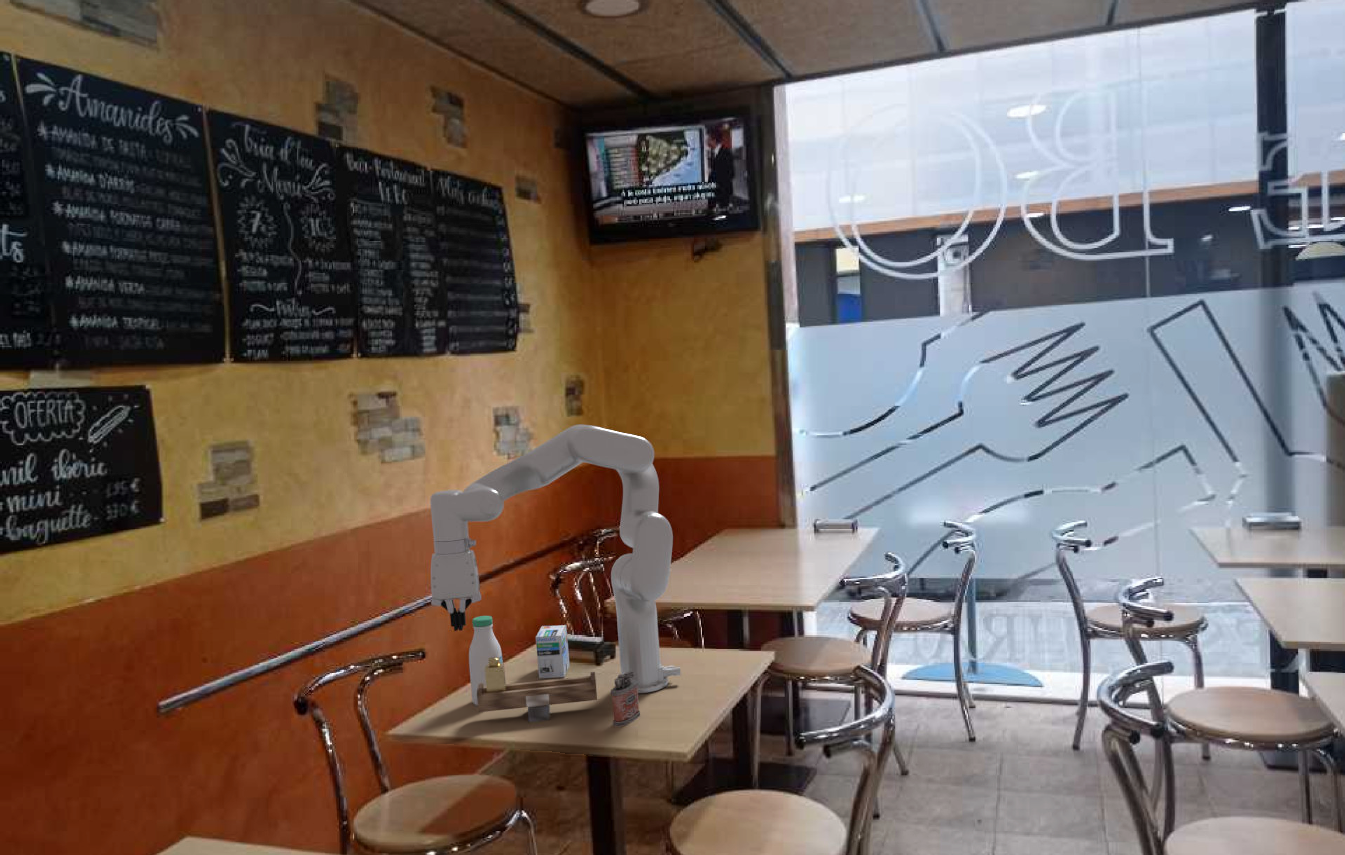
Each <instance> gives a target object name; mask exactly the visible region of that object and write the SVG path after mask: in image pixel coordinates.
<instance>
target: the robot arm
mask: <svg viewBox="0 0 1345 855" xmlns="http://www.w3.org/2000/svg"><path fill="white" fill-rule="evenodd" d="M654 460H655V450H654V447H653V445H652V443H651V442H650V441H649V440H647V439H646V438H645V437H642V436H638V435H634V434H630V433H624V432H619V431H615V430H612V429H606V428H604V427H600V426H596V425H592V424H591V425H589V424H575V425H572V426H570V427H568V428H566V429H565V430H562V432H559V433H558V434H556V435H554V436H553V437H551V438H550V439H549V440H547V441H545V442H544V443H542V444H540V445H538V446H537V447H535V448H533V449H532V450H530V451H529V452H526V453H525V454H523V455H520V456H519V457H516V458H515V459H513V460H511V461H510V462H506V463H505V464H503V465H501V466H499V467H497V468H495V469H494V470H492V471H489V472H488V473H487V474H485V475H483V476H482V477H480V478H479V479H477V480H476V481H474V482H472V483H470V484H469V485H468V486H466V487H465V488H464V490H463V491H462V490H459V489H449V490H441V491H436V492H434V493H433V494H431V496H430V513H431V524H432V536H433V548H434V553H432V554H431V562H430V592H431V602H430V603H431V605H432V606H436V607H442V608H443V609H445V610H446V611H447V612H448V614H449V618H450V627H451V628H452V627H453V631H454V632H457V631H460V632H461V631H463V629H464V626H466V625H467V621H466V619H467V618H466V610H467V608H469V606H471V604H473V603H474V604H475V603H476V602H480V601H481V600H482V594H481V592H480V580H479V579H480V577H479V570H478V564H477V558H476V555H475V551H474V550H473V549H471V548H472V547H476V546H477V540H476V539H471V538H470V536H469V527H468V526H469V525H468V522H489V521H494V520H495V519H497V518H498V517H499V516H500V515H501V514H502V512H503V510H504V508H505V507H504V506H505V503H504V502H505V501H507V500H508V499H510V498H511V497H514V496H515V495H518V494H521V493H523V492H526V491H532V490H537V489H540V488H542V487H545V486H548V485H550V484H551V483H553V482H554V481H555V480H557V479H559V478H560V477H562V476H563V475H565V474H567V473H568V472H570V471H571V470H572V469H575V468H576V467H578V466H579V465H581V464H583V463H586V464H587V463H588V464H591V465H595V466H599V467H603V468H608V469H613V470H615V471H616V472H617V473H618V475H619V477H620V479H621V483H622V504H621V515H620V524H619V537H620V538H621V540H622V542H623V543H624V545H626V546H628V547H629V548H632V553H626V554H623V555H621V556H619V558H618V559H616V560H615V562H614V563H613V565H612V567H611V572H610V579H611V580H610V581H611V586H612V587H611V588H612V592H613V596H614V597H613V598H614V603H615V610H616V611H615V612H616V618H617V619H616V622H617V633H618V634H617V636H618V650H619V664H620V674H621V675H624V674H625V673H627V672H629V671H633V672H634V677H633V678H631V679H630V680H635V681H637V682H638V686H637V692H638V694H646V693H652V692H656V691H659V690H661V689H664V688H666V687H667V686H668V684H669V677H671V676H673V677H675V676H676V677H677V676H681V675H682V674H681V667H680V666H678V667H675V665H669V666H665V665H663V664H662V662H661V656H660V642H659V626H658V610H657V605H656V604H657V603H656V601H657V600H658V599H660V598H661V597H662V596H663V595H664V594H665V593H666V590H667V588H668V584H669V582H670V573H671V565H672V564H671V563H672V554H673V553H672V552H673V545H674V544H673V541H674V535H673V529H672V526H671V523H670V522H669V520H668V519H667V518H666V517H665V516H664V515H662V514H660V513H659V498H660V497H659V494H660V485H659V484H660V482H659V477H658V474H657V471H656V468H655V466H654V464H653V462H654ZM454 600H459V608H458V610H457V608H456V606H455V602H454Z"/></svg>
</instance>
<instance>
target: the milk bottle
mask: <svg viewBox="0 0 1345 855" xmlns="http://www.w3.org/2000/svg"><path fill="white" fill-rule="evenodd" d="M493 622H494V620H493V617H492V616H491V615H480V616H476V617H474V618H473V619H472V628H473V629H474V630H473V637H472V640H471V643H470V646H469V651H468V664H469V676H470V677H469V678H470V680H469V681H470V688H471V689H470V690H471V698H472V699H471V701H472V703H473V705H475V706H477V707H478V701H477V689H478V686H479V684H481V683H484V687H486V677H485V666H486V665H489V661H488V659H489V658H492V657H499V660H500V663H504V661H503V654H502V648H501V644H500V643H499V641H498V640H497V638H496V636H495V634H494V630H493V626H494V625H493Z"/></svg>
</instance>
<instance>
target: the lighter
mask: <svg viewBox="0 0 1345 855" xmlns="http://www.w3.org/2000/svg"><path fill="white" fill-rule="evenodd" d="M633 677H634V672H633V671H629V672H627V673H625V674H624V675H621V673H620V674H618V675H617V678H615V679H614V685H615V686H614V687H613V688H612V689H610V695H611V697H612V698H611V700H612V713H613V714H612V715H613V720H612V725H613V726H614V727H623V726H626V725H627V724H630V723H632V722H634V721H635V720H637V719H638V718H639V717H641V711H640V709H639V708H640V707H639V693H638V692H637V686H638V682H637V681H635V680H630V679H631V678H633Z"/></svg>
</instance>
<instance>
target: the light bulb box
mask: <svg viewBox="0 0 1345 855" xmlns="http://www.w3.org/2000/svg"><path fill="white" fill-rule="evenodd" d="M535 644H536V657H537V658H536V659H537V667H538V668H537V669H538V679H554V678H556V679H559V678H565V677H566V675H567V672H568V669H569V668H570V655H569V643H568V631H567V625H566V624H564V625H563V624H562V625H560V624H559V625H541V627H540V628H539V631H538V632H537V635H535Z"/></svg>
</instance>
